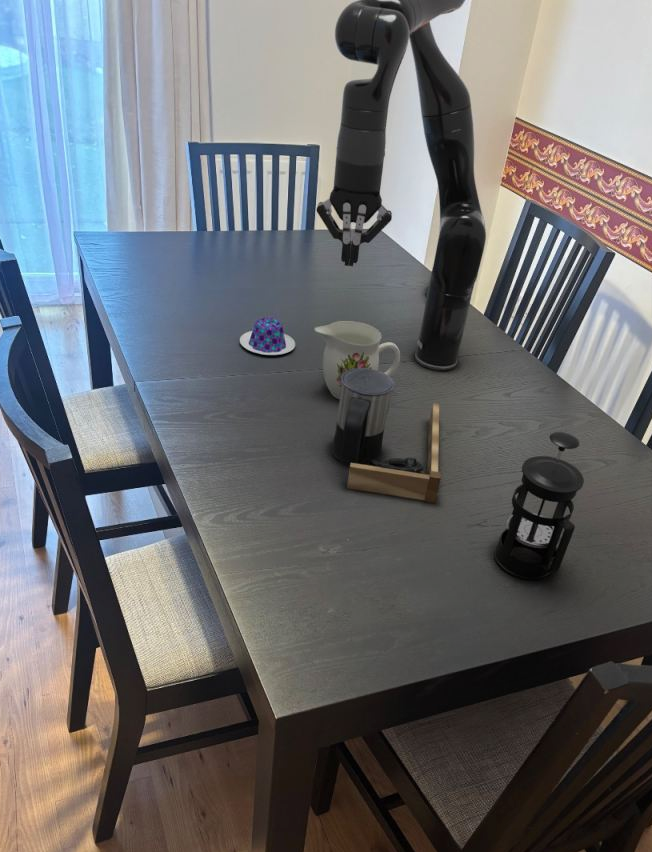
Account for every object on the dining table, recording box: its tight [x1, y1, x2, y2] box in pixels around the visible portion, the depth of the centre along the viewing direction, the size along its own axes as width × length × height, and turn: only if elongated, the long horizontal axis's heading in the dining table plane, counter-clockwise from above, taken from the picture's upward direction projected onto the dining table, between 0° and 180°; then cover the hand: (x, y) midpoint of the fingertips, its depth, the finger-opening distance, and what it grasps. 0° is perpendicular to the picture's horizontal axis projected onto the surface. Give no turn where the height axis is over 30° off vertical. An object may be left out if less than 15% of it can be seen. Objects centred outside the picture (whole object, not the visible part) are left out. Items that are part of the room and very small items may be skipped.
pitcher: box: [313, 320, 401, 400], centre depth 155 cm, size 11×18×14 cm, turn 103°
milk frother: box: [330, 368, 424, 473], centre depth 136 cm, size 14×16×15 cm
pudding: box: [239, 317, 296, 356], centre depth 169 cm, size 12×12×5 cm
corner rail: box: [346, 403, 442, 504], centre depth 141 cm, size 26×15×5 cm, turn 174°
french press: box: [493, 431, 585, 582], centre depth 116 cm, size 12×9×23 cm
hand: (349, 264), depth 134 cm, fingers closed
